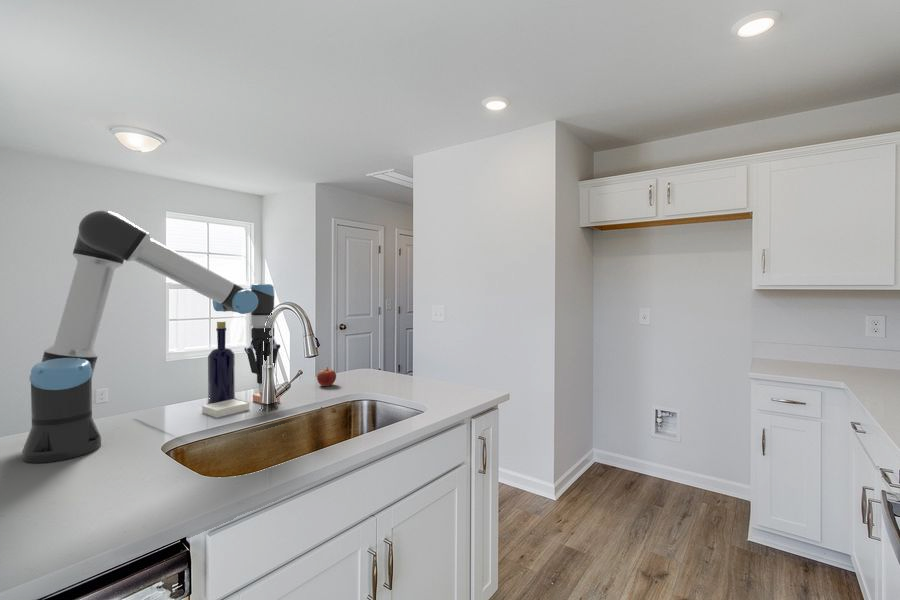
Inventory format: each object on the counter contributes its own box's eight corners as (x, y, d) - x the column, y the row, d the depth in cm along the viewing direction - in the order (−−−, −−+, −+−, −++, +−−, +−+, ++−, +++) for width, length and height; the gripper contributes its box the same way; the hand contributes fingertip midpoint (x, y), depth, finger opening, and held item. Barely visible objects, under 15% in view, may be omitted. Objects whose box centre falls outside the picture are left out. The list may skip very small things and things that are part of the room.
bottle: (241, 400, 163) (240, 320, 162) (226, 406, 154) (225, 322, 153) (218, 399, 164) (217, 320, 163) (201, 406, 155) (201, 322, 154)
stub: (267, 405, 152) (267, 388, 152) (252, 401, 158) (252, 384, 157) (279, 402, 157) (279, 385, 156) (265, 398, 162) (265, 382, 161)
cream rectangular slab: (216, 417, 138) (216, 409, 138) (202, 412, 143) (202, 405, 143) (249, 409, 147) (249, 402, 147) (234, 405, 152) (234, 398, 152)
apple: (337, 383, 192) (337, 365, 192) (334, 387, 184) (334, 369, 184) (319, 383, 192) (319, 365, 191) (315, 387, 184) (315, 369, 183)
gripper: (251, 328, 148) (251, 397, 148) (285, 326, 158) (285, 389, 159) (239, 327, 152) (239, 393, 153) (273, 324, 163) (273, 387, 163)
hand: (263, 391), depth 156 cm, fingers closed
